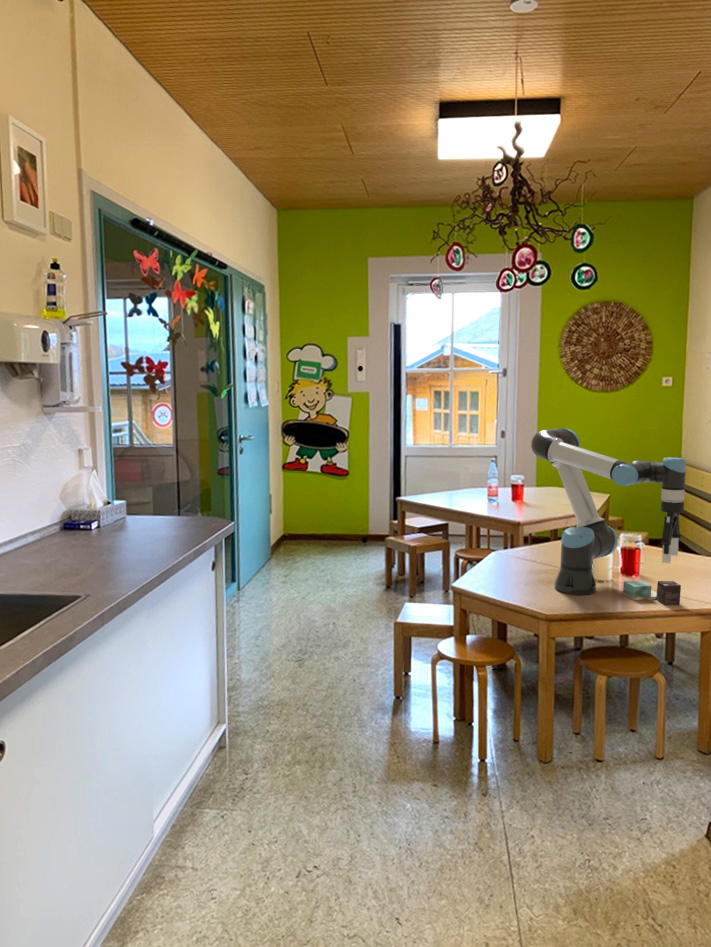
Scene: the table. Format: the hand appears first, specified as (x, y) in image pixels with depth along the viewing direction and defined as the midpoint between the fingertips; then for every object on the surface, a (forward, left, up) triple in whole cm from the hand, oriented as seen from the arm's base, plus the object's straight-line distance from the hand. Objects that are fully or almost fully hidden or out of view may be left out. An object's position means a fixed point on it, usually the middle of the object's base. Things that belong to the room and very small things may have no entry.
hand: (670, 558), depth 257 cm
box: (0, -1, -16) cm, 16 cm away
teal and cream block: (-5, +7, -16) cm, 18 cm away
